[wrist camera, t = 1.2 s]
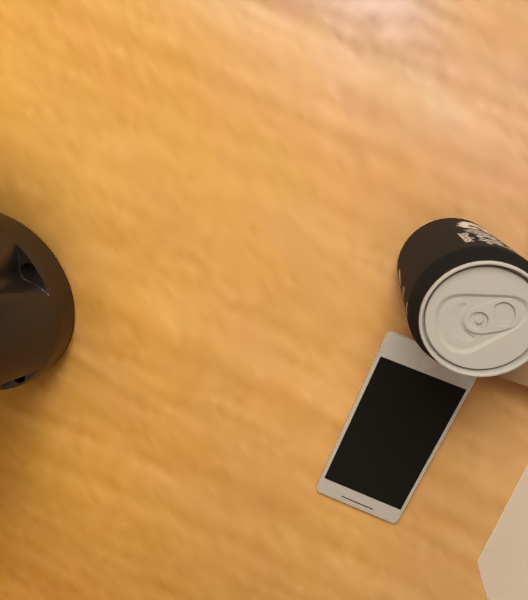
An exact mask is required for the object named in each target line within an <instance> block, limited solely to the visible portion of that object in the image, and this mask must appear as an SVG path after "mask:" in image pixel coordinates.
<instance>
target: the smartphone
mask: <svg viewBox="0 0 528 600" xmlns="http://www.w3.org/2000/svg"><path fill="white" fill-rule="evenodd" d="M476 379H477V377H472V376H466V375H462V374H459V373H456V372H454V371H451V370H449V369H447V368H446V367H444V366H443V365H441V364H440V363H438V362H437V361H435V360H433V359H432V358H431V357H429V356H428V355H427V354H426V353H425V352H424V351H423V350H422V349H421V348H420V347H419V345H418V344H417V343H416V341H415V339H412V338H410V337H407V336H404V335H402V334H399V333H397V332H394V331H389V332H388V333H387V334H386V335H385V337H384V339H383V341H382V344H381V346H380V348H379V350H378V352H377V354H376V357H375V359H374V361H373V363H372V365H371V367H370V370H369V372H368V374H367V376H366V378H365V381H364V383H363V385H362V387H361V389H360V391H359V394H358V396H357V398H356V400H355V402H354V404H353V407H352V409H351V411H350V413H349V415H348V417H347V420H346V422H345V424H344V426H343V428H342V431H341V433H340V435H339V437H338V439H337V441H336V444H335V446H334V448H333V450H332V452H331V454H330V457H329V459H328V461H327V463H326V465H325V468H324V470H323V472H322V474H321V476H320V478H319V481H318V483H317V491H318V492H319V493H322V494H324V495H326V496H329V497H331V498H334V499H336V500H338V501H341V502H343V503H345V504H348V505H350V506H353V507H355V508H357V509H360V510H362V511H364V512H367V513H369V514H372V515H374V516H376V517H379V518H381V519H383V520H386V521H388V522H391V523H396V522H397V521H398V520H399V518H400V516H401V515H402V513H403V511H404V509H405V507H406V505H407V504H408V502H409V500H410V498H411V496H412V495H413V493H414V491H415V489H416V487H417V486H418V484H419V482H420V480H421V478H422V477H423V475H424V473H425V471H426V469H427V468H428V466H429V464H430V462H431V460H432V458H433V457H434V455H435V453H436V451H437V449H438V448H439V446H440V444H441V442H442V440H443V439H444V437H445V435H446V433H447V431H448V430H449V428H450V426H451V424H452V422H453V421H454V419H455V417H456V415H457V413H458V411H459V410H460V408H461V406H462V404H463V402H464V401H465V399H466V397H467V395H468V393H469V392H470V390H471V388H472V386H473V384H474V383H475V381H476Z"/></svg>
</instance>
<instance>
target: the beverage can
mask: <svg viewBox="0 0 528 600" xmlns="http://www.w3.org/2000/svg"><path fill="white" fill-rule="evenodd" d="M397 269H398V278H399V282H400V287H401V292H402V296H403V301H404V305H405V310H406V314H407V319H408V324H409V327H410V331H411V333H412V336H413V337H414V339H415V341H416V343H417V344H418V345H419V347H420V348H421V349H422V350H423V351H424V352H425V353H426V354H427V355H428V356H429V357H431V358H432V359H433V360H435V361H437V362H438V363H440V364H441V365H443V366H444V367H446V368H447V369H449V370H451V371H454V372H456V373H459V374H462V375H466V376H472V377H491V376H496V375H501V374H504V373H507V372H510V371H512V370H514V369H516V368H518V367H520V366H521V365H523V364H524V363H526V362H527V361H528V261H527V260H526V259H524V258H523V257H522V256H520V255H519V254H517V253H516V252H515V251H513V250H512V249H511V248H509V247H508V246H506V245H505V244H504V243H502V242H501V241H500V240H498V239H497V238H496V237H494V236H493V235H491V234H490V233H489V232H487V231H486V230H485V229H483V228H482V227H480V226H479V225H477V224H475V223H473V222H471V221H468V220H464V219H458V218H445V219H439V220H436V221H432V222H430V223H428V224H426V225H424V226H422V227H421V228H419V229H418V230H416V231H415V232H414V233H413V234H412V235H411V236H410V237H409V238H408V240H407V241H406V242H405V244H404V246H403V248H402V250H401V252H400V255H399V259H398V267H397Z"/></svg>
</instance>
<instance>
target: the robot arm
mask: <svg viewBox="0 0 528 600" xmlns="http://www.w3.org/2000/svg"><path fill="white" fill-rule="evenodd" d="M73 323H74V306H73V299H72V294H71V290H70V287H69V283H68V281H67V278H66V276H65V273H64V271H63V269H62V267H61V265H60V264H59V262H58V260H57V259H56V257H55V256H54V254H53V253H52V252H51V250H50V249H49V248H48V247H47V245H46V244H45V243H44V242H43V241H42V240H41V239H40V238H39V237H38V236H37V235H36V234H35V233H33V232H32V231H31V230H30V229H28V228H27V227H26V226H24V225H23V224H21V223H19V222H18V221H16V220H14V219H12V218H10V217H8V216H5V215H2V214H0V390H4V389H9V388H13V387H17V386H20V385H22V384H25V383H27V382H29V381H31V380H33V379H34V378H36V377H37V376H39V375H40V374H41V373H43V372H44V371H46V370H47V369H49V368H50V367H51V366H53V365H54V364H55V363H56V362H57V361H58V360H59V358H60V357H61V356H62V354H63V353H64V351H65V349H66V348H67V346H68V343H69V341H70V338H71V334H72V330H73ZM477 563H478V566H479V570H480V574H481V577H482V581H483V584H484V588H485V591H486V595H487V598H488V600H528V465H527V467H526V469H525V470H524V472H523V474H522V476H521V478H520V480H519V482H518V484H517V486H516V488H515V490H514V492H513V494H512V495H511V497H510V499H509V501H508V503H507V505H506V507H505V509H504V511H503V513H502V515H501V517H500V519H499V520H498V522H497V524H496V526H495V528H494V530H493V532H492V534H491V536H490V538H489V540H488V542H487V544H486V546H485V547H484V549H483V551H482V553H481V555H480V557H479V559H478V561H477Z"/></svg>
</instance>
